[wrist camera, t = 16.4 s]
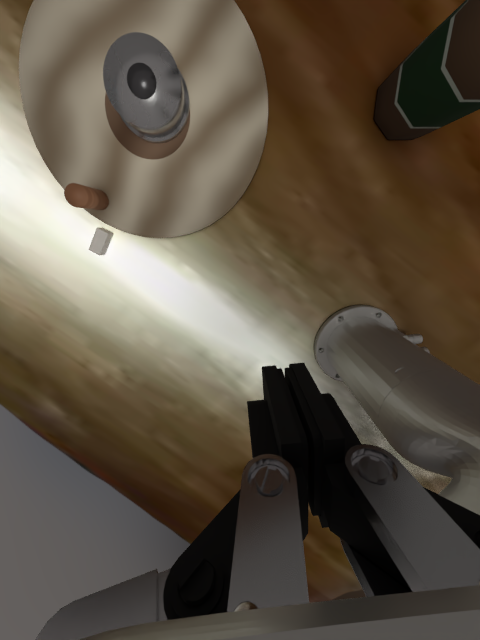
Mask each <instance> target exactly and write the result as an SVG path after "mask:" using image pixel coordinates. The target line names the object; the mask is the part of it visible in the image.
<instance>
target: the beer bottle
mask: <svg viewBox="0 0 480 640" xmlns="http://www.w3.org/2000/svg"><path fill="white" fill-rule="evenodd" d="M479 109H480V0H466V1H465V2H464V3H462V4H461V5H460V6H459V7H458V8H457V9H456V10H455V11H454V12H453V13H452V14H451V15H450V16H449V17H448V18H447V19H446V20H445V21H444V22H443V23H442V24H440V25H439V26H438V27H437V28H436V29H435V30H434V31H433V32H432V33H431V34H430V35H429V36H428V37H427V38H426V39H425V40H424V41H423V42H422V43H421V44H420V45H418V46H417V47H416V48H415V49H414V50H413V51H412V52H411V53H410V54H409V55H408V56H407V57H406V58H405V60H404V61H403V62H402V63H401V64H400V65H399V66H398V67H397V68H396V69H395V70H394V71H393V73H392V74H391V75H390V76H389V77H388V78H387V79H386V80H385V81H384V82H383V83H382V84H381V85H380V87H379V88H378V93H377V101H376V108H375V116H374V120H375V122H376V123H377V125H378V126H379V128H380V129H381V130H382V132H383V133H384V135H385V136H386V138H387V139H388V140H412V139H415V138H418V137H421V136H423V135H425V134H427V133H430V132H432V131H434V130H436V129H438V128H440V127H442V126H444V125H447V124H449V123H451V122H453V121H455V120H457V119H459V118H462V117H464V116H466V115H468V114H470V113H472V112H474V111H477V110H479Z"/></svg>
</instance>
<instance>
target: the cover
mask: <svg viewBox="0 0 480 640" xmlns="http://www.w3.org/2000/svg"><path fill="white" fill-rule="evenodd" d="M103 81H104V86H105V90H106V93H107V96H108V98H109V100H110V102H111V104H112V106H113V107H114V108H115V110H116V111H117V112H118V113H119V114H120V116H121V118H122V120H123V121H124V123H125V124H126V125H127V127H128V128H129V129H130V130H131V131H132V132H133V133H134V134H135V135H137V136H138V137H140V138H141V139H143V140H145V141H148V142H151V143H165V142H168V141H171V140H172V139H174V138H176V137H177V136H178V135H179V134H180V133H181V132H182V130H183V129H184V127H185V125H186V123H187V120H188V117H189V111H190V99H189V93H188V89H187V86H186V83H185V80H184V78H183V76H182V74H181V72H180V71H179V69H178V68H177V65H176V62H175V60H174V58H173V56H172V55H171V53H170V52H169V50H168V49H167V48H166V47H165V46H164V45H163V44H162V43H161V42H160V41H159V40H158V39H156V38H154V37H153V36H151V35H148V34H145V33H140V32H132V33H127V34H125V35H123V36H121V37H119V38H118V39H117V40H116V41H115V42H114V43H113V44H112V45H111V46H110V48H109V50H108V52H107V54H106V57H105V61H104V66H103Z"/></svg>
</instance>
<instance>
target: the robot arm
mask: <svg viewBox="0 0 480 640" xmlns="http://www.w3.org/2000/svg"><path fill="white" fill-rule="evenodd" d="M376 313H377V314H376ZM339 316H340V317H339ZM338 317H339V318H338ZM422 341H423V337H422V335H421V334H411V335H405V334H403V333H402V332H400V331H398V329H397V326H396V324H395V322H394V320H393V319H392V318H391V317H390V316H389V315H388V314H387V313H385V312H384V311H382V310H380V309H378V308H376V307H373V306H370V305H354V306H350V307H347V308H344V309H342V310H340V311H338V312H336V313H335V314H333V315H332V316H330V317H329V318H328V319H327V320H326V321H325V322H324V324H323V325H322V327H321V328H320V330H319V332H318V334H317V336H316V340H315V345H314V352H315V357H316V360H317V362H318V364H319V366H320V367H321V369H322V370H323V371H324V372H325V373H326V374H327V375H328V376H330V377H331V378H333V379H335V380H339V381H343V382H344V383H345V384H346V385H347V387H348V388H349V389H350V391H351V392H352V393H353V395H354V396H355V397H356V399H357V400H358V402H359V403H360V404H361V406H362V407H363V408H364V410H365V411H366V412H367V414H368V415H369V416H370V418H371V419H372V420H373V422H374V423H375V424H376V426H377V427H378V429H379V430H380V431H381V433H382V434H383V435H384V437H385V438H386V439H387V441H388V442H389V443H390V445H391V446H392V447H393V448H394V449H395V450H396V451H397V452H398V453H399V454H400V455H401V456H402V457H403V458H405V459H406V460H408V461H409V462H411V463H413V464H414V465H416V466H419V467H421V468H423V469H425V470H428V471H431V472H434V473H437V474H440V475H444V476H447V477H451V478H452V480H451V482H450V483H449V484H448V485H447V486H446V487H445V488H444V489H443V490H442V491H441V492H440V493H439V494H436V493H434V492H432V491H430V490H428V489H426V488H424V487H422V486H421V485H420V483H419V482H418V481H417V480H416V479H415V478H414V477H413V476H412V475H411V474H410V473H409V471H408V470H407V469H406V468H405V467H404V466H403V465H402V464H401V463H400V462H399V461H398V459H396V458H395V457H394V456H393V455H392V454H391V453H389V452H387V451H386V450H384V449H382V448H379V447H377V446H374V445H367V444H361V443H360V441H359V439H358V438H357V436H356V434H355V433H354V431H353V429H352V428H351V426H350V424H349V423H348V421H347V420H346V418H345V416H344V415H343V413H342V411H341V410H340V408H339V406H338V405H337V403H336V401H335V400H334V398H333V397H332V395H331V394H329V393H327V394H321V393H320V391H319V389H318V388H317V386H316V384H315V382H314V380H313V378H312V377H311V375H310V373H309V371H308V369H307V368H306V366H305V364H304V363H295V364H290V365H289V368H285V377H284V374H283V372H282V369H277V368H276V366H265V367H262V376H263V391H264V400H257V401H247V405H248V415H249V426H250V436H251V445H252V455H253V459H252V460H250V461H249V462H248V463H247V465H246V466H245V468H244V471H243V474H242V481H241V489H240V491H239V492H238V493H237V494H236V495H235V496H234V497H233V498H232V499H231V500H230V502H229V503H228V504H227V505H226V506H225V507H224V508H223V509H222V510H221V512H220V513H219V514H218V515H217V516H216V517H215V518H214V519H213V520H212V521H211V523H210V524H209V525H208V526H207V527H206V528H205V529H204V530H203V531H202V533H201V534H200V535H199V536H198V537H197V538H196V539H195V540H194V541H193V542H192V544H191V545H190V546H189V547H188V548H187V549H186V550H185V552H183V554H182V555H181V556H180V557H179V558H178V560H177V561H176V562H175V564H174V565H173V566H172V568H170V569H168V570H165V571H163V572H160V573H158V572H157V569H155V570H152V571H150V572H147V573H145V574H142V575H140V576H137V577H134V578H132V579H129V580H127V581H124V582H121V583H119V584H116V585H114V586H111V587H109V588H106V589H103V590H101V591H98V592H96V593H93V594H90V595H88V596H85V597H83V598H80V599H78V600H75V601H73V602H71V603H69V604H68V605H66V606H64V607H62V608H61V609H60V610H59V611H58V612H57V613H56V614H55V615H54V616H53V617H52V618H50V619H49V620H48V621H47V623H46V624H45V626H44V627H43V629H42V630H41V632H40V633H39V634H38V636H37V637H36V640H480V385H479V384H477V383H475V382H474V381H472V380H471V379H469V378H468V377H466V376H464V375H463V374H461V373H460V372H458V371H456V370H455V369H453V368H452V367H450V366H448V365H447V364H445V363H444V362H442V361H441V360H439V359H437V358H436V357H434V356H433V355H431V354H430V352H429V350H428V349H427V348H426V347H418V346H417V345H415V344H418V343H422ZM319 348H320V349H319ZM308 502H309V506H310V509H311V512H312V515H313V516H316V515H318V516H319V519H320V522H321V526H322V528H324V527H329V529H330V531H332V532H333V533H334V534H336V535H337V536H338V537H340V541H341V544H342V547H343V550H344V552H345V554H346V556H347V558H348V560H349V562H350V564H351V566H352V568H353V570H354V572H355V574H356V576H357V578H358V580H359V582H360V584H361V587H362V589H363V591H364V593H365V595H366V597H362V598H352V599H343V600H334V601H324V602H315V603H309V599H308V589H307V579H306V569H305V559H304V549H303V540H304V539H305V537H306V535H307V534H308Z"/></svg>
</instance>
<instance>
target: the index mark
mask: <svg viewBox="0 0 480 640" xmlns="http://www.w3.org/2000/svg"><path fill="white" fill-rule="evenodd" d="M112 235H113V233H112V232H110V231H108V230H106V229H104V228H97V229H96V232H95V234H94V237H93V240H92V242H91V245H90V248H89V250H90V251H92V252H94V253H96V254H98V255H103V254H105V253H106V250H107V248H108V245H109V243H110V240H111V238H112Z"/></svg>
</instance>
